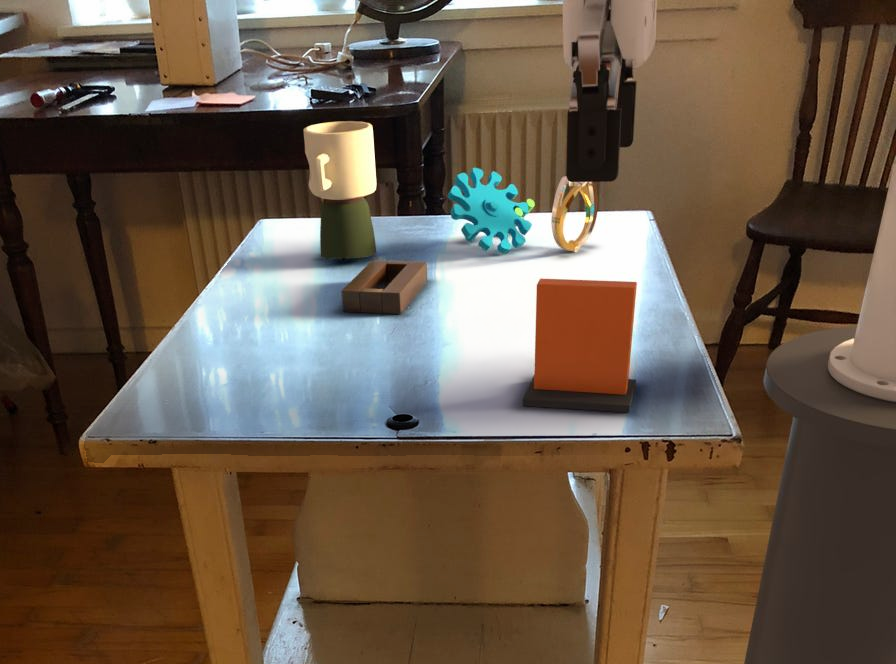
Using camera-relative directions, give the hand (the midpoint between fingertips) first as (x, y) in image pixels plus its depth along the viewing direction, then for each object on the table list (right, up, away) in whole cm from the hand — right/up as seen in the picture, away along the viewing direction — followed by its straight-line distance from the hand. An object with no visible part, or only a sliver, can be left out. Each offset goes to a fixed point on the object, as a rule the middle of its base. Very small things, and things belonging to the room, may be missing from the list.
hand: (601, 162), depth 65 cm
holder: (-15, +2, +31) cm, 35 cm away
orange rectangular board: (0, -13, +9) cm, 16 cm away
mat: (0, -13, +10) cm, 16 cm away
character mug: (-20, +10, +42) cm, 48 cm away
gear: (-4, +12, +43) cm, 45 cm away
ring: (+5, +10, +40) cm, 42 cm away
